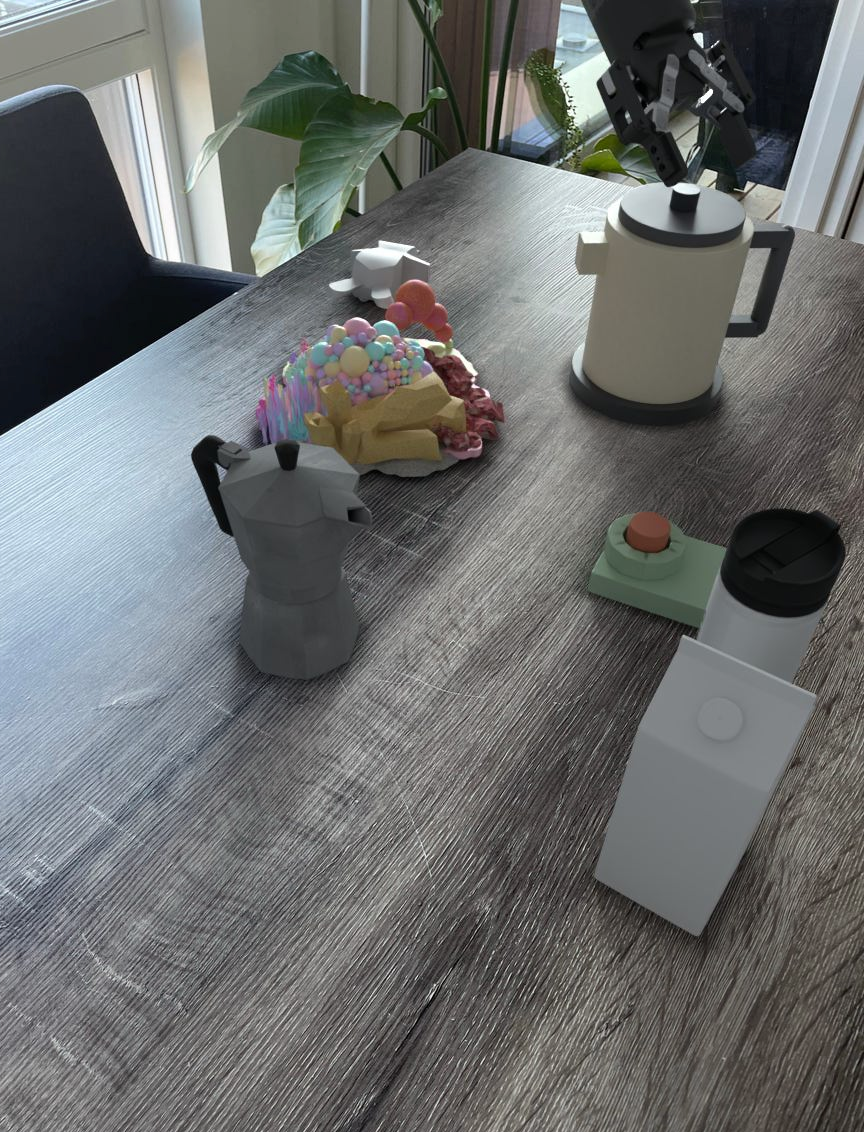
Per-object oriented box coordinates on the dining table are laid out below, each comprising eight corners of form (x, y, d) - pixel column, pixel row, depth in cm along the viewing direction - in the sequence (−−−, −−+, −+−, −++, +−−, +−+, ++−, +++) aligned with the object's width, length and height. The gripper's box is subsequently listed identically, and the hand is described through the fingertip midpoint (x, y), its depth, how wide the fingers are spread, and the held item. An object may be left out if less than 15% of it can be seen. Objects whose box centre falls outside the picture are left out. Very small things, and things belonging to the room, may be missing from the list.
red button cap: (671, 535, 83) (675, 518, 82) (660, 559, 81) (664, 542, 80) (632, 523, 84) (636, 506, 83) (620, 546, 82) (624, 529, 81)
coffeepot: (405, 639, 79) (412, 444, 67) (330, 715, 74) (322, 519, 61) (252, 560, 86) (232, 368, 73) (173, 625, 80) (136, 430, 67)
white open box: (443, 240, 118) (399, 283, 107) (439, 284, 122) (396, 330, 110) (366, 226, 120) (315, 267, 109) (364, 270, 124) (315, 314, 113)
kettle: (771, 426, 100) (838, 225, 86) (571, 429, 99) (605, 227, 85) (725, 339, 111) (777, 149, 97) (545, 341, 111) (571, 150, 96)
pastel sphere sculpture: (539, 460, 96) (552, 372, 89) (295, 513, 90) (289, 423, 83) (437, 330, 112) (442, 247, 105) (225, 367, 106) (216, 283, 100)
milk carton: (641, 803, 69) (709, 597, 55) (742, 857, 66) (840, 654, 53) (592, 878, 65) (652, 676, 51) (697, 939, 62) (791, 743, 49)
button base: (782, 587, 84) (797, 550, 81) (760, 650, 79) (775, 613, 76) (617, 535, 88) (625, 498, 86) (586, 592, 83) (594, 555, 81)
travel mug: (775, 765, 71) (877, 545, 57) (708, 809, 69) (797, 590, 54) (707, 707, 75) (788, 486, 61) (642, 747, 72) (709, 526, 58)
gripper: (597, -30, 80) (685, 161, 80) (720, -48, 86) (801, 129, 86) (544, 38, 87) (626, 213, 87) (662, 16, 93) (737, 181, 93)
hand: (713, 171), depth 87 cm, fingers open, 8 cm apart
